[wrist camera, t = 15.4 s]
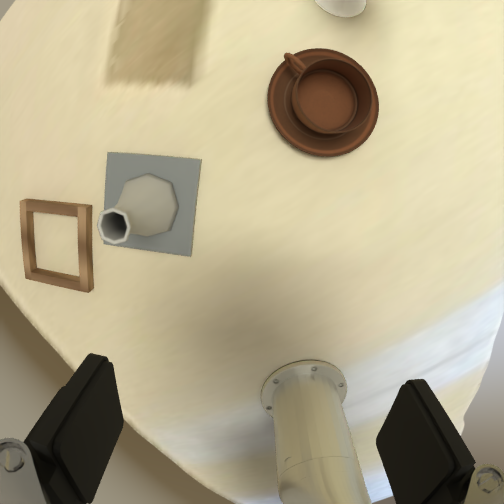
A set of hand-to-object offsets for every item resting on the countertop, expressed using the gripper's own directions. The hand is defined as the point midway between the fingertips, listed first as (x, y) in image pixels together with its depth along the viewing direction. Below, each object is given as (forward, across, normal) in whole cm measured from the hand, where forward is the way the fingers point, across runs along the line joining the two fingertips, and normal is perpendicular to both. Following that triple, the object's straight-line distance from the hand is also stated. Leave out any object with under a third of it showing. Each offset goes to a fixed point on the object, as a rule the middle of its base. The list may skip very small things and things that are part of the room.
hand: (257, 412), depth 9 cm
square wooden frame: (+28, +26, +5) cm, 38 cm away
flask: (+27, +12, -1) cm, 30 cm away
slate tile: (+28, +12, -1) cm, 30 cm away
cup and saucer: (+28, -6, -14) cm, 32 cm away
